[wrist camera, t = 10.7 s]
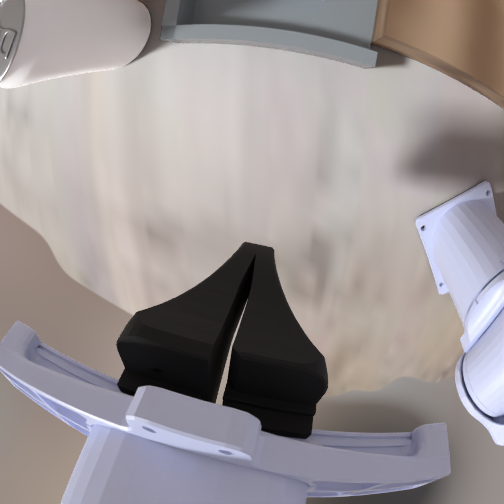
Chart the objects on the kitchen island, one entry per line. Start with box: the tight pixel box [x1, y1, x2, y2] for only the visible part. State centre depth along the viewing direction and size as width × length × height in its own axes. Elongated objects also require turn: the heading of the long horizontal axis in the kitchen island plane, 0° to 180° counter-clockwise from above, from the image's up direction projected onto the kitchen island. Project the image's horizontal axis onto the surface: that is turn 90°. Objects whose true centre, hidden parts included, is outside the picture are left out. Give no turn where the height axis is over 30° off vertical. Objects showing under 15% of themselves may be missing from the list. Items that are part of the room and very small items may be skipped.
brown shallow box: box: [371, 0, 504, 109], centre depth 9 cm, size 13×10×4 cm
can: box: [0, 0, 151, 88], centre depth 10 cm, size 6×6×12 cm
